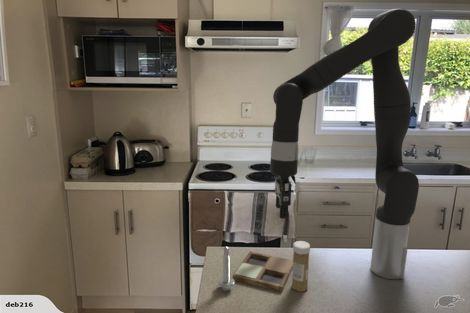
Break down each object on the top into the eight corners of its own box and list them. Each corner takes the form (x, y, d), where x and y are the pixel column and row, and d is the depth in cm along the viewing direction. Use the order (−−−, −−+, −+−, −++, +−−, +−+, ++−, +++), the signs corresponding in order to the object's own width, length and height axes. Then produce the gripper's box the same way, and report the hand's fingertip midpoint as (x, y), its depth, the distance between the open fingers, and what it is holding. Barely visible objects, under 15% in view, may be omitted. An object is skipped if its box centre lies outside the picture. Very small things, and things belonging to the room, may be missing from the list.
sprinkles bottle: (311, 288, 96) (313, 245, 93) (299, 294, 94) (301, 249, 91) (299, 280, 100) (301, 238, 97) (288, 285, 97) (289, 242, 94)
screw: (215, 285, 97) (230, 281, 99) (221, 295, 93) (237, 290, 95) (214, 244, 94) (230, 240, 96) (221, 252, 90) (238, 248, 92)
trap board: (294, 264, 108) (294, 259, 108) (282, 291, 95) (282, 286, 94) (250, 255, 114) (250, 250, 113) (232, 279, 100) (232, 274, 100)
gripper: (302, 162, 87) (299, 222, 90) (293, 152, 101) (290, 204, 104) (273, 161, 87) (270, 221, 90) (268, 152, 101) (265, 204, 104)
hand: (281, 212), depth 97 cm, fingers open, 8 cm apart
